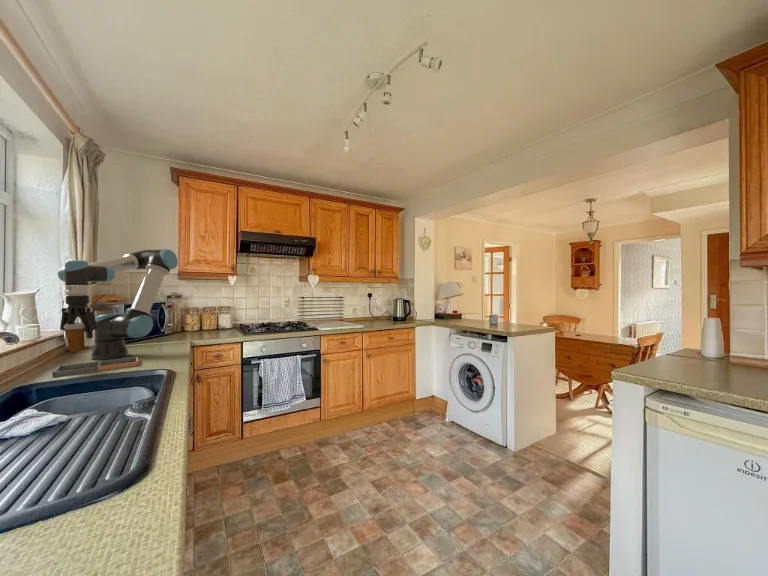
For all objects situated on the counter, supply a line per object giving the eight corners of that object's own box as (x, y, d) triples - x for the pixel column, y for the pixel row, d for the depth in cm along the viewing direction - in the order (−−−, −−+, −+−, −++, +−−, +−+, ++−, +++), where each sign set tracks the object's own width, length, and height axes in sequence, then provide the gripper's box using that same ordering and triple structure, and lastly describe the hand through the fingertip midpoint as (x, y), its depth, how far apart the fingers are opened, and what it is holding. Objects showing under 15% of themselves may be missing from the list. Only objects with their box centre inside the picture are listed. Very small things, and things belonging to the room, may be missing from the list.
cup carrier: (58, 370, 144) (58, 365, 144) (137, 360, 162) (137, 356, 162) (52, 377, 132) (52, 372, 132) (138, 365, 150) (138, 361, 150)
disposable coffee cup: (94, 349, 143) (93, 323, 143) (64, 353, 136) (63, 325, 136) (92, 346, 150) (91, 321, 150) (63, 350, 143) (62, 323, 143)
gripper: (47, 295, 140) (48, 347, 140) (90, 295, 138) (92, 347, 138) (65, 294, 147) (67, 343, 148) (106, 294, 145) (108, 344, 146)
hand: (79, 345), depth 143 cm, fingers closed on disposable coffee cup, 8 cm apart
